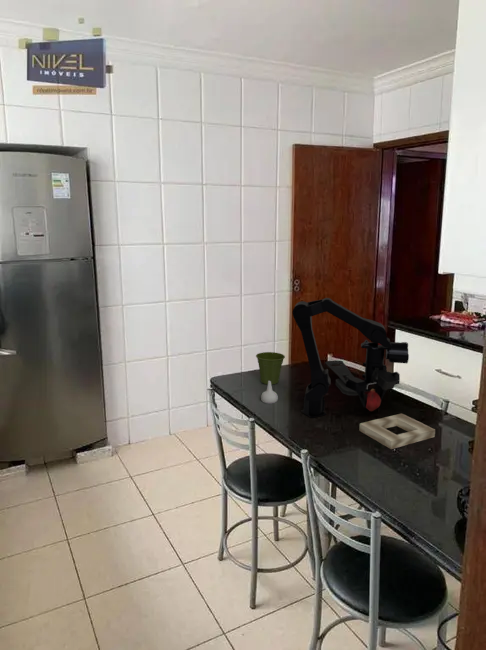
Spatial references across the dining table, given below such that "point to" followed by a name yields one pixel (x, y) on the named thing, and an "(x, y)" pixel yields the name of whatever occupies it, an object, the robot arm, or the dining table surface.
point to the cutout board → (391, 440)
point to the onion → (373, 400)
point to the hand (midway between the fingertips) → (371, 405)
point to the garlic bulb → (269, 395)
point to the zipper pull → (342, 376)
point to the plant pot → (270, 366)
